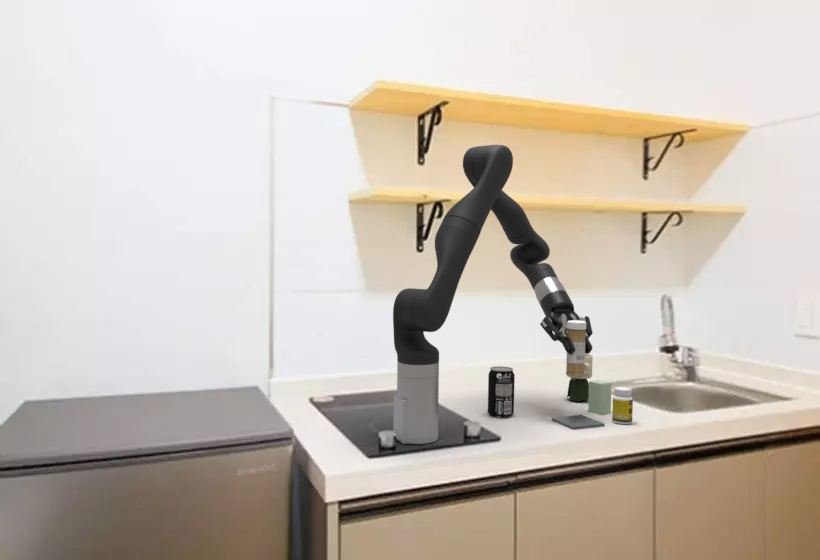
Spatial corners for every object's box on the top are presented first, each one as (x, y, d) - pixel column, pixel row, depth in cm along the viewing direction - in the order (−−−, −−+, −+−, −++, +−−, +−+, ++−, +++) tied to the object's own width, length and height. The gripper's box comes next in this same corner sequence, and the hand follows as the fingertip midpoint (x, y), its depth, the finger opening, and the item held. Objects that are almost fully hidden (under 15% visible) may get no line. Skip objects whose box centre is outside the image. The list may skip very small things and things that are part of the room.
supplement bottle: (632, 425, 155) (632, 391, 155) (611, 423, 157) (612, 389, 157) (632, 420, 160) (633, 387, 159) (612, 418, 161) (613, 385, 161)
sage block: (599, 414, 165) (600, 384, 165) (588, 411, 169) (588, 381, 168) (610, 413, 167) (611, 382, 167) (598, 409, 171) (599, 379, 170)
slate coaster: (573, 429, 151) (573, 427, 151) (551, 419, 160) (551, 417, 160) (604, 426, 155) (604, 423, 155) (581, 416, 163) (581, 414, 163)
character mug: (557, 396, 186) (558, 351, 185) (580, 395, 187) (581, 351, 187) (576, 405, 175) (577, 358, 174) (600, 404, 177) (601, 357, 176)
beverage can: (496, 410, 169) (497, 365, 168) (518, 414, 164) (519, 368, 164) (482, 415, 164) (483, 368, 163) (505, 419, 159) (506, 371, 159)
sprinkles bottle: (581, 373, 160) (582, 320, 159) (587, 377, 155) (589, 322, 155) (563, 373, 160) (564, 319, 159) (568, 377, 155) (570, 321, 155)
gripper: (535, 289, 161) (563, 343, 150) (582, 289, 166) (612, 341, 156) (523, 308, 166) (549, 362, 155) (569, 307, 171) (597, 360, 161)
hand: (580, 351), depth 156 cm, fingers closed on sprinkles bottle, 4 cm apart
